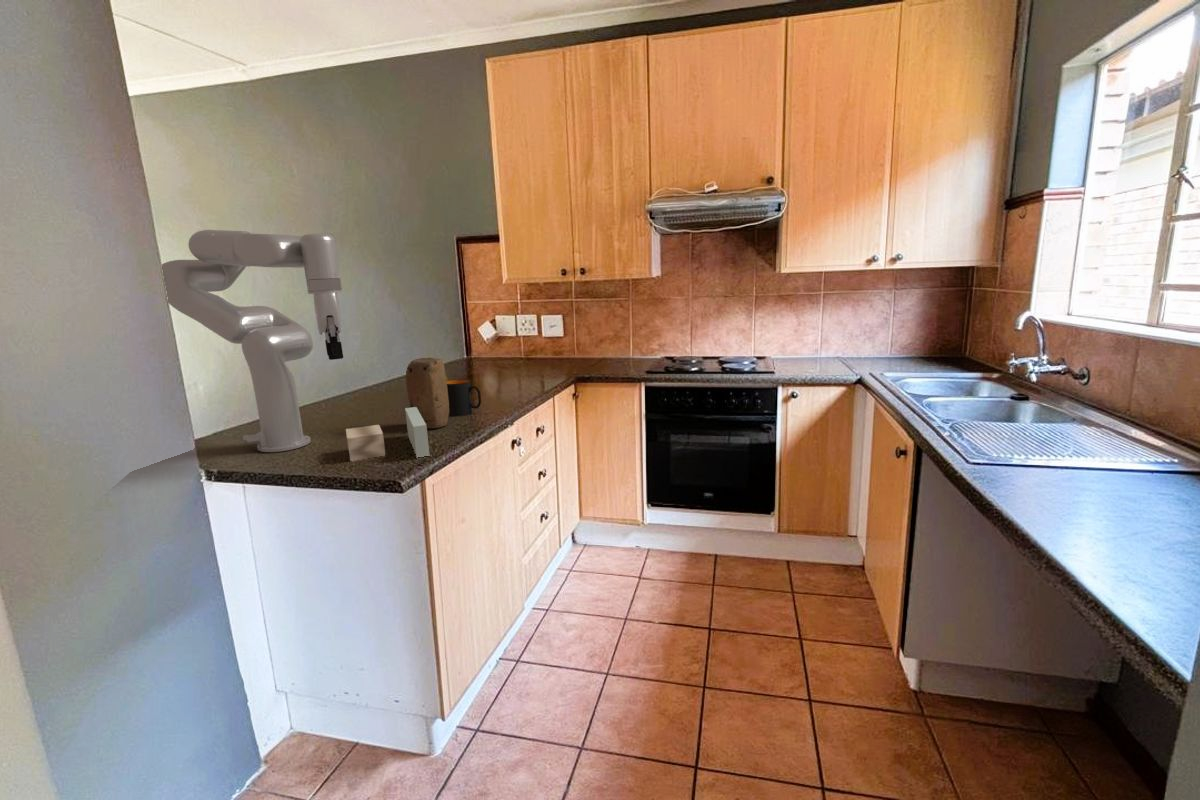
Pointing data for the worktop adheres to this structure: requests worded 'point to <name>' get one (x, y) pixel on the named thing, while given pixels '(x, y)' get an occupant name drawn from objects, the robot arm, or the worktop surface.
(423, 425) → the sage board
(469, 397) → the mug
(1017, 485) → the worktop surface
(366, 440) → the beech block
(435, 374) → the brown rounded tall lump
